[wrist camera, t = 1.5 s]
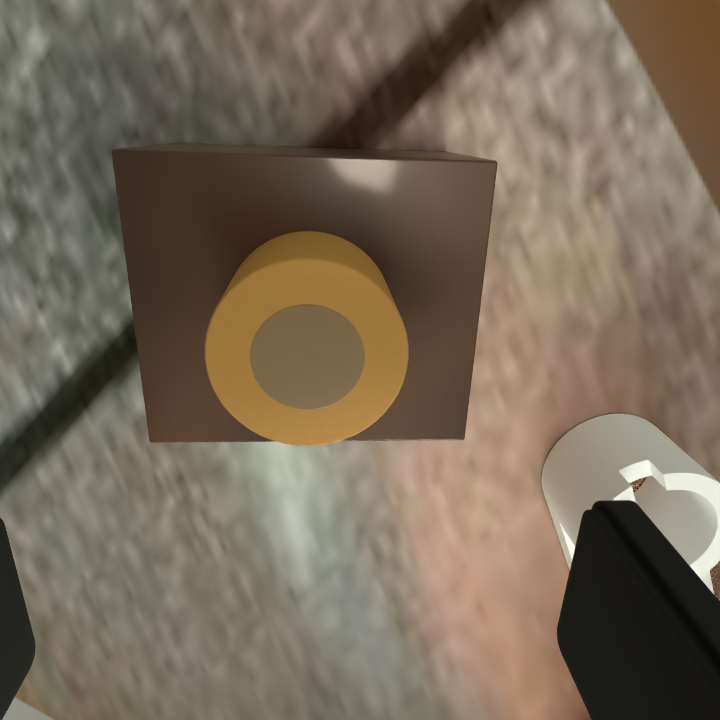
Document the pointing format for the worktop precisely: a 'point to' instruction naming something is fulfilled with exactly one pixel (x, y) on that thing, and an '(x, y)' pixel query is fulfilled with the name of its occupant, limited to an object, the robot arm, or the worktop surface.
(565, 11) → the worktop surface
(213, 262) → the brown square pedestal
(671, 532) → the white slotted cylinder
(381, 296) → the tape roll
